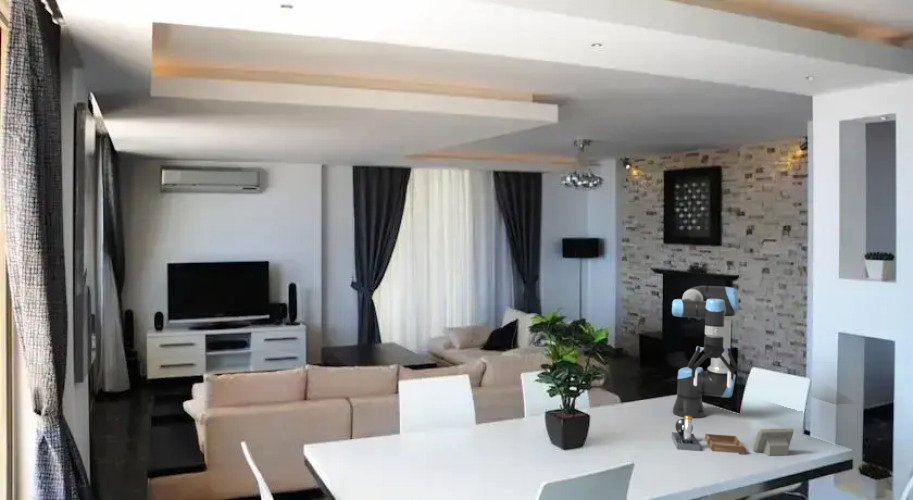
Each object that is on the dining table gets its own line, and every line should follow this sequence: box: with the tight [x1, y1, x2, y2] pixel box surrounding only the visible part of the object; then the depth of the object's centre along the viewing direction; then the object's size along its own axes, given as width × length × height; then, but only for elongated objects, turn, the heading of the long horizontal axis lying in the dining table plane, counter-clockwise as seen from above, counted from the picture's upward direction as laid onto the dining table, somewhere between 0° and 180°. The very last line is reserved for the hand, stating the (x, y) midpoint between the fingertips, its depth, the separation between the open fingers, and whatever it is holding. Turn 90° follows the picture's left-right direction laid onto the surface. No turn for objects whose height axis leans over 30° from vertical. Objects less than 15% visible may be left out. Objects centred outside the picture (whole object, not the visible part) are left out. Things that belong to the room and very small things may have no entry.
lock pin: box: [683, 415, 693, 443], centre depth 299 cm, size 3×3×13 cm
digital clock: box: [752, 427, 794, 457], centre depth 296 cm, size 16×9×11 cm, turn 89°
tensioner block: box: [671, 418, 701, 452], centre depth 303 cm, size 16×9×10 cm, turn 171°
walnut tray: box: [704, 433, 745, 455], centre depth 302 cm, size 16×13×3 cm
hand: (711, 386), depth 299 cm, fingers open, 13 cm apart
